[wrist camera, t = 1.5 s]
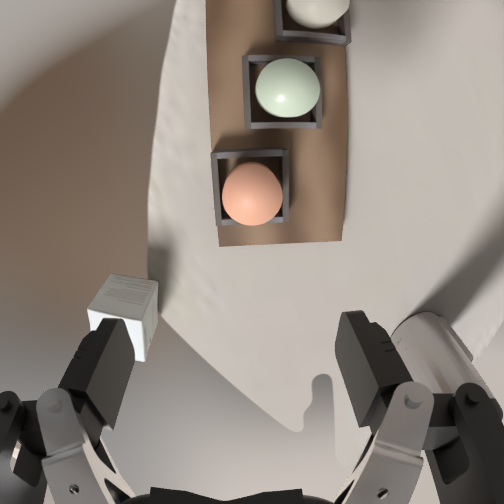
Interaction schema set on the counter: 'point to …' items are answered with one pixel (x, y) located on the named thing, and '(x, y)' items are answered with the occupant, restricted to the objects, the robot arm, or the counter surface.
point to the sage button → (287, 88)
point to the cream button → (316, 12)
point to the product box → (128, 308)
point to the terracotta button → (251, 194)
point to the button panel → (277, 119)
